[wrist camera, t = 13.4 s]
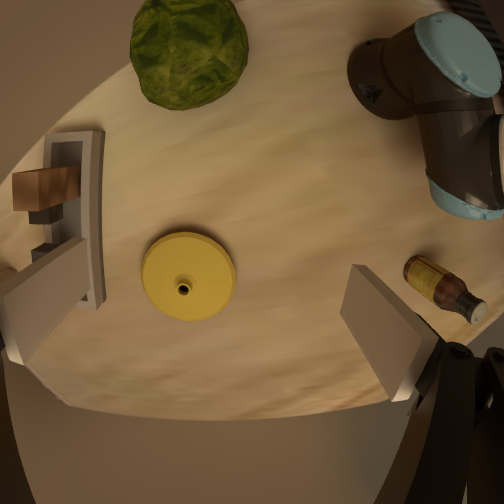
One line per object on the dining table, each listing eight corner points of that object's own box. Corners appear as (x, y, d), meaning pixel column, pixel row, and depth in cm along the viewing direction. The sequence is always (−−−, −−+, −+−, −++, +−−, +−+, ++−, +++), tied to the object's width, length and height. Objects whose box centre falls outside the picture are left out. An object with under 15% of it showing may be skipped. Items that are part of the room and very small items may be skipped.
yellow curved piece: (132, 286, 50) (119, 304, 43) (170, 209, 46) (160, 218, 40) (208, 326, 54) (205, 349, 47) (253, 257, 50) (256, 273, 43)
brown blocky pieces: (57, 135, 40) (2, 133, 26) (105, 132, 41) (55, 126, 27) (63, 292, 50) (23, 332, 35) (106, 299, 50) (71, 345, 36)
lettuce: (227, 5, 38) (199, -51, 23) (276, 87, 38) (257, 25, 23) (147, 46, 41) (101, 3, 26) (178, 133, 41) (120, 97, 26)
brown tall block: (62, 165, 41) (12, 173, 28) (86, 164, 41) (38, 171, 28) (62, 208, 43) (14, 229, 30) (86, 209, 44) (40, 230, 30)
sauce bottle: (403, 288, 54) (461, 340, 35) (400, 260, 52) (463, 308, 33) (428, 276, 54) (489, 322, 35) (426, 249, 52) (492, 290, 33)
